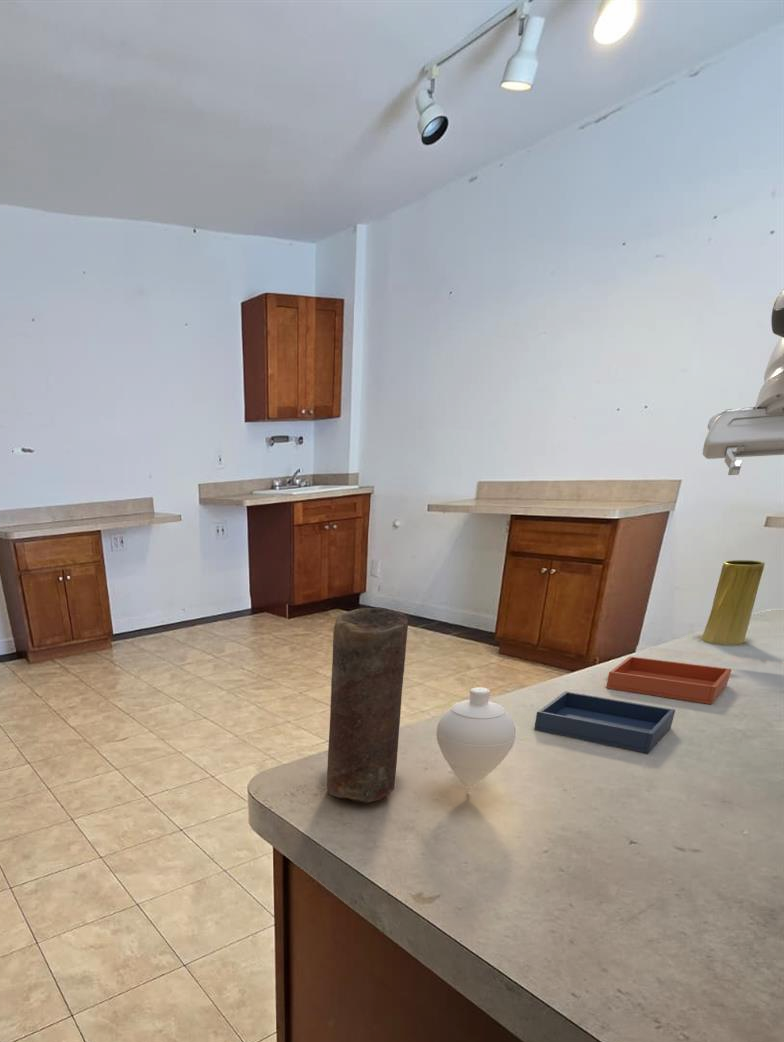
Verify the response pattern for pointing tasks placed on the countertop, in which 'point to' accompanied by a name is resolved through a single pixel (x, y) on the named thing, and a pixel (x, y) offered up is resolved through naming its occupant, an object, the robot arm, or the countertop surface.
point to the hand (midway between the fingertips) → (769, 471)
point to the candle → (366, 703)
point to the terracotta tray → (669, 679)
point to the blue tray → (605, 721)
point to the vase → (733, 602)
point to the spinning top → (475, 737)
